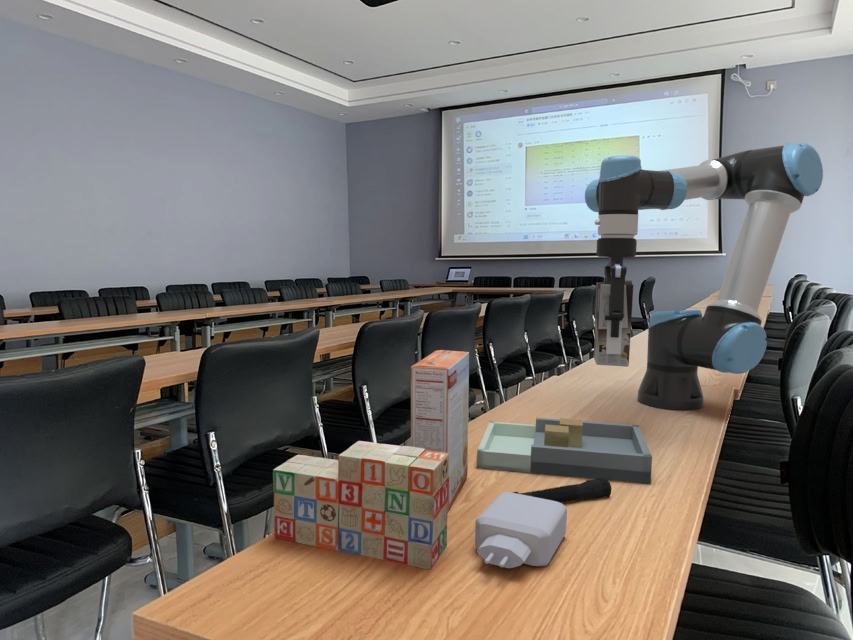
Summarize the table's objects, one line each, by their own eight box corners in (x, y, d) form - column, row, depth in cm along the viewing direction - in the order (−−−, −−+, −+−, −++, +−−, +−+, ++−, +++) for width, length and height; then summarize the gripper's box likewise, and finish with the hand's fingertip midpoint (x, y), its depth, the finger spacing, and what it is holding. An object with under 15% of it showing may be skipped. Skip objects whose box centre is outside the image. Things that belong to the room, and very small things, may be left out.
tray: (535, 439, 120) (536, 425, 119) (530, 472, 102) (530, 455, 101) (489, 436, 121) (490, 421, 121) (476, 467, 104) (477, 450, 103)
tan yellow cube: (567, 448, 109) (568, 426, 108) (567, 455, 105) (568, 432, 104) (544, 446, 109) (545, 424, 109) (543, 453, 106) (544, 430, 105)
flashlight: (611, 500, 92) (612, 481, 92) (517, 517, 86) (517, 497, 85) (598, 493, 95) (599, 474, 94) (506, 509, 88) (506, 489, 88)
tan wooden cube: (581, 440, 113) (582, 419, 112) (581, 447, 109) (582, 425, 109) (559, 439, 114) (560, 418, 113) (558, 445, 110) (559, 424, 109)
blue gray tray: (637, 448, 115) (638, 425, 115) (650, 484, 98) (652, 457, 97) (535, 439, 120) (536, 417, 119) (530, 472, 102) (531, 446, 101)
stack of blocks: (272, 539, 77) (271, 445, 76) (298, 519, 83) (297, 431, 82) (432, 570, 70) (434, 468, 69) (448, 546, 76) (450, 451, 75)
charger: (454, 574, 70) (498, 523, 83) (533, 595, 66) (565, 538, 79) (455, 535, 69) (499, 489, 83) (534, 554, 65) (567, 503, 79)
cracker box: (432, 473, 101) (435, 348, 98) (468, 478, 99) (471, 350, 97) (407, 507, 87) (409, 363, 85) (448, 513, 86) (451, 366, 83)
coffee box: (630, 367, 118) (634, 284, 116) (595, 365, 120) (599, 283, 118) (624, 358, 127) (628, 281, 125) (592, 357, 128) (596, 280, 127)
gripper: (594, 238, 132) (590, 341, 134) (600, 235, 111) (594, 358, 113) (631, 238, 130) (625, 342, 133) (643, 236, 109) (637, 360, 112)
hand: (611, 349), depth 123 cm, fingers closed on coffee box, 9 cm apart
